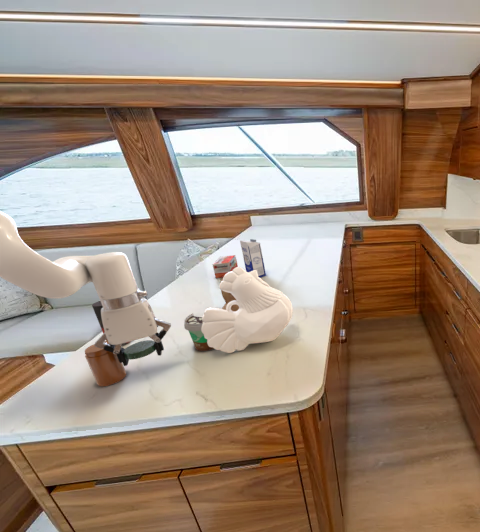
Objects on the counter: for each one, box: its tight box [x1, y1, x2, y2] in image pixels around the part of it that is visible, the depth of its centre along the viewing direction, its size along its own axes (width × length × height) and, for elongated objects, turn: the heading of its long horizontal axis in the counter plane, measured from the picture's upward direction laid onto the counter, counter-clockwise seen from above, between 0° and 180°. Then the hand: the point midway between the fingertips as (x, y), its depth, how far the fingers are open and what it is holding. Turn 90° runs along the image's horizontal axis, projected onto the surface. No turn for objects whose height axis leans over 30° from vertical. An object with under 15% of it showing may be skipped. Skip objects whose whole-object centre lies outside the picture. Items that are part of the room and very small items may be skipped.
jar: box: [84, 340, 127, 388], centre depth 80 cm, size 6×6×10 cm
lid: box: [123, 339, 156, 361], centre depth 82 cm, size 7×7×2 cm
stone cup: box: [220, 278, 239, 311], centre depth 117 cm, size 15×12×15 cm
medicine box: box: [211, 254, 239, 279], centre depth 162 cm, size 15×8×8 cm, turn 16°
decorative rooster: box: [201, 266, 294, 354], centre depth 95 cm, size 25×16×25 cm
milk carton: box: [239, 238, 267, 278], centre depth 154 cm, size 7×7×20 cm
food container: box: [183, 313, 215, 352], centre depth 94 cm, size 12×6×10 cm, turn 73°
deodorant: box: [91, 300, 132, 347], centre depth 97 cm, size 6×6×15 cm
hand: (143, 357), depth 83 cm, fingers closed on lid, 6 cm apart
